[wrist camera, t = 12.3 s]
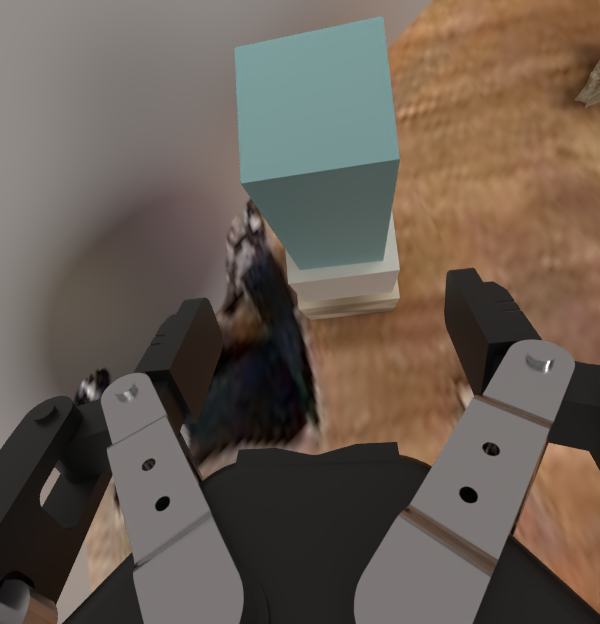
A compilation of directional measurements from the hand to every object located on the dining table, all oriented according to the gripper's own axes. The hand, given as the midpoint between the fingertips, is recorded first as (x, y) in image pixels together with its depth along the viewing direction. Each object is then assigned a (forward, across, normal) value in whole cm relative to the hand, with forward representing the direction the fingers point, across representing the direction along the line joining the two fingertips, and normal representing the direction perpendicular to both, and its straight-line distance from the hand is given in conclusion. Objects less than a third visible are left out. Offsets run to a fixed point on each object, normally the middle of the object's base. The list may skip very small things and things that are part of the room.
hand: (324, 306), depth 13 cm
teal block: (+9, 0, +1) cm, 9 cm away
